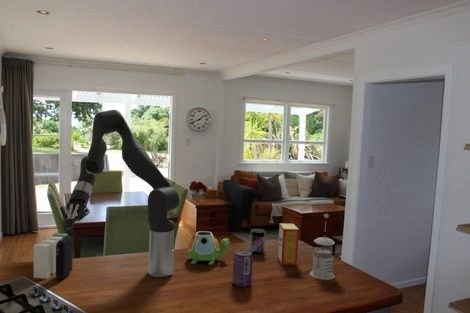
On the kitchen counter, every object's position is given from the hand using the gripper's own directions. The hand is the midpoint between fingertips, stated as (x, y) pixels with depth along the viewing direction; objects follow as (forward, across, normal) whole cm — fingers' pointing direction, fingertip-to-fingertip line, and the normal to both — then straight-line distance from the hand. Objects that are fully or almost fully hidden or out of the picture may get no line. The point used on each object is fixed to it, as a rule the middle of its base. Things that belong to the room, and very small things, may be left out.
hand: (68, 228), depth 156 cm
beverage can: (+20, +73, -2) cm, 76 cm away
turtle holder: (+4, +57, +14) cm, 59 cm away
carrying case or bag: (+23, +8, -5) cm, 24 cm away
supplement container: (-5, +80, +23) cm, 83 cm away
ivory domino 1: (+23, 0, -5) cm, 24 cm away
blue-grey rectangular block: (+14, 0, +4) cm, 14 cm away
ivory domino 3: (+20, 0, -2) cm, 20 cm away
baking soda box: (+1, +92, +17) cm, 94 cm away
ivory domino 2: (+17, 0, +1) cm, 17 cm away
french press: (+11, +105, +6) cm, 105 cm away
